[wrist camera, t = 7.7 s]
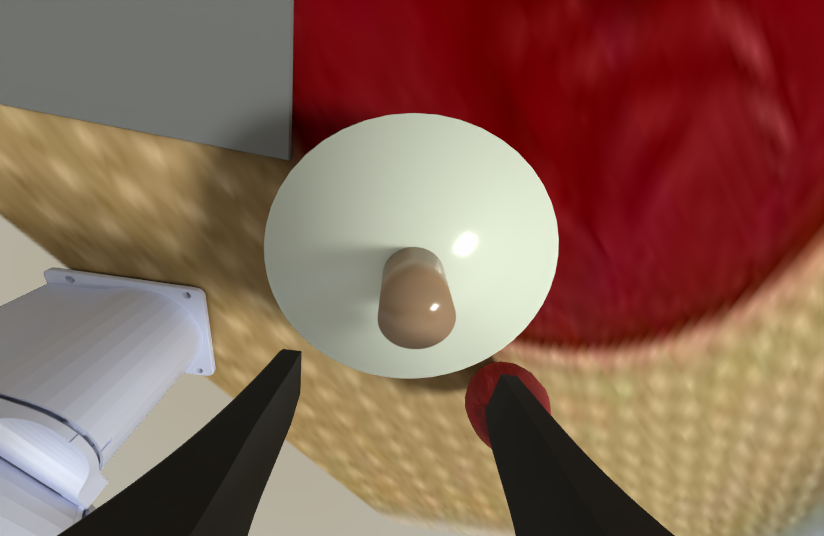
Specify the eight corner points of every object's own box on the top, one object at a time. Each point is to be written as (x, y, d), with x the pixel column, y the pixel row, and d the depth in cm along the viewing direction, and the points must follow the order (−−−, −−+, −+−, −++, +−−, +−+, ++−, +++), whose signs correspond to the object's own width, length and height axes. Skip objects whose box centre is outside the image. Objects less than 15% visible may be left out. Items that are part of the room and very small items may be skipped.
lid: (281, 360, 18) (248, 427, 14) (254, 88, 11) (181, 76, 8) (507, 375, 19) (534, 441, 15) (597, 137, 13) (682, 148, 9)
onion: (444, 377, 25) (461, 481, 18) (483, 329, 23) (520, 426, 16) (500, 398, 27) (536, 502, 20) (541, 355, 24) (599, 454, 17)
